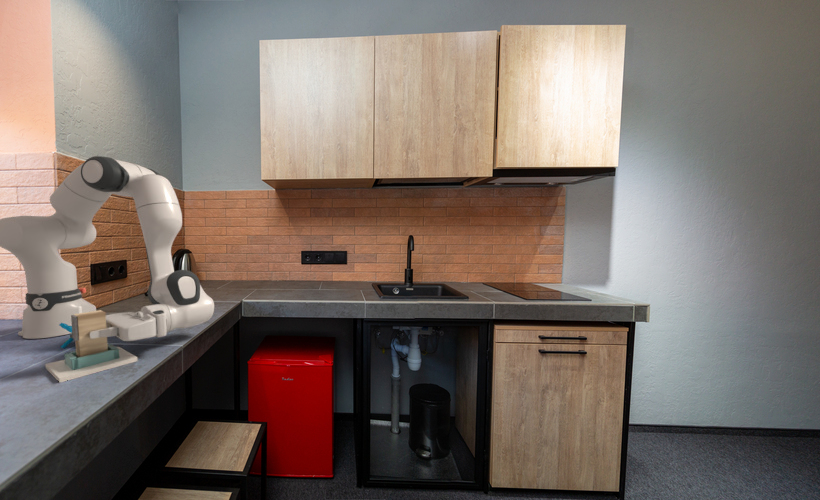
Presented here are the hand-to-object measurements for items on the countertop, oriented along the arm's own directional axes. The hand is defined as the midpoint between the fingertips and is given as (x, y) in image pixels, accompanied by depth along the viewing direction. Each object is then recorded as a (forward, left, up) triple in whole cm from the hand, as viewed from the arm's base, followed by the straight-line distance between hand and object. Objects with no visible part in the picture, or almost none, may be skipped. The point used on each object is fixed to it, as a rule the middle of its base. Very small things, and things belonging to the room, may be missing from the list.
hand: (86, 333), depth 79 cm
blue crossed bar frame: (-19, -12, -9) cm, 24 cm away
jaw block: (-1, +1, -6) cm, 6 cm away
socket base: (-1, +1, -8) cm, 9 cm away
